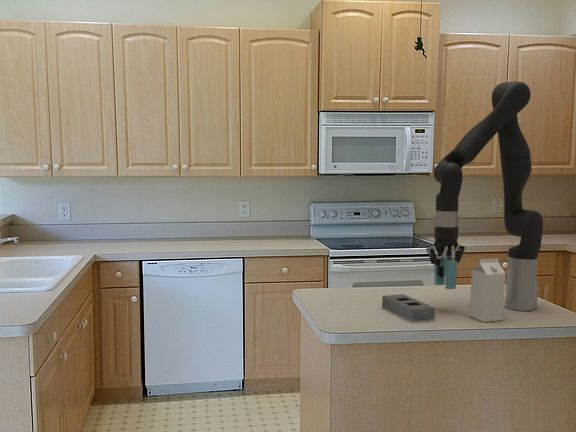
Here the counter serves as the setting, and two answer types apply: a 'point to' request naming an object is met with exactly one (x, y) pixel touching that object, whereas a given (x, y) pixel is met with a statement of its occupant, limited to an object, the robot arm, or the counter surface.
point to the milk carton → (487, 291)
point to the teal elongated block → (447, 274)
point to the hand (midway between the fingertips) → (445, 276)
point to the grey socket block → (408, 308)
